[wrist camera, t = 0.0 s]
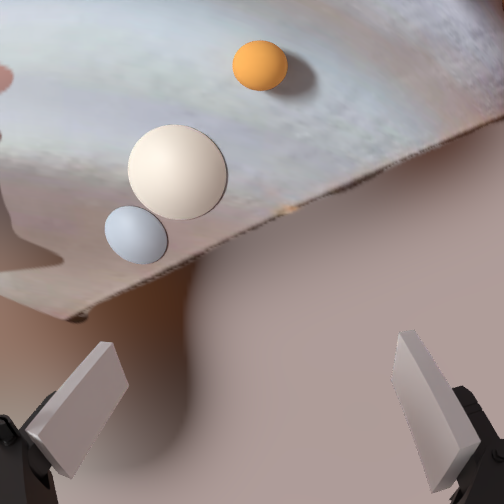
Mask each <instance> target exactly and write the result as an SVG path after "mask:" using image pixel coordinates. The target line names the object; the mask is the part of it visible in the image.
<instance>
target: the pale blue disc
mask: <svg viewBox="0 0 504 504" xmlns="http://www.w3.org/2000/svg"><path fill="white" fill-rule="evenodd" d="M105 234H106V238H107V241H108V243H109V244H110V246H111V247H112V249H113V250H114V251H115V252H116V253H117V254H118V255H119V256H121V257H122V258H124V259H125V260H127V261H130V262H133V263H137V264H149V263H153V262H155V261H157V260H158V259H159V258H161V256H162V255H163V254H164V252H165V250H166V246H167V236H166V232H165V230H164V228H163V226H162V224H161V223H160V221H159V220H158V219H157V218H156V217H155V216H154V215H153V214H151V213H150V212H148V211H146V210H144V209H142V208H139V207H135V206H123V207H120V208H117V209H116V210H114V211H113V212H112V213H111V214H110V215H109V216H108V218H107V220H106V224H105Z"/></svg>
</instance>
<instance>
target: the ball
mask: <svg viewBox="0 0 504 504" xmlns="http://www.w3.org/2000/svg"><path fill="white" fill-rule="evenodd" d="M287 69H288V63H287V59H286V56H285V54H284V53H283V51H282V50H281V49H280V48H279V47H278V46H276V45H275V44H273V43H271V42H267V41H252V42H249V43H247V44H245V45H243V46H242V47H241V48H240V49H239V50H238V51H237V52H236V54H235V56H234V59H233V72H234V75H235V77H236V78H237V80H238V81H239V82H240V83H241V84H242V85H243V86H245V87H247V88H249V89H252V90H257V91H264V90H269V89H272V88H274V87H276V86H277V85H278V84H280V83H281V82H282V80H283V79H284V77H285V76H286V73H287Z"/></svg>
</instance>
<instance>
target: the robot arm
mask: <svg viewBox="0 0 504 504" xmlns="http://www.w3.org/2000/svg"><path fill="white" fill-rule="evenodd" d="M391 382H392V384H393V387H394V389H395V392H396V394H397V397H398V399H399V401H400V404H401V407H402V410H403V412H404V415H405V417H406V420H407V423H408V425H409V428H410V431H411V434H412V436H413V439H414V442H415V445H416V448H417V451H418V454H419V456H420V459H421V462H422V465H423V468H424V471H425V474H426V478H427V481H428V484H429V487H430V490H431V493H435V492H438V491H441V490H444V489H447V488H450V487H451V486H452V485H453V483H454V482H455V481H456V479H457V481H458V484H459V488H458V489H457V490H456V492H455V493H454V494H453V495H452V497H451V498H450V500H452V501H451V503H450V504H504V439H500V438H499V437H498V435H497V433H496V432H495V430H494V428H493V426H492V425H491V423H490V421H489V420H488V418H487V417H486V415H485V413H484V411H482V408H481V406H480V405H479V404H478V403H477V400H476V398H475V397H474V395H473V394H472V392H470V391H469V390H468V389H466V388H465V387H463V386H459V387H455V388H451V387H450V385H449V383H448V382H447V381H446V379H445V377H444V375H443V373H442V372H441V370H440V369H439V367H438V365H437V364H436V362H435V361H434V359H433V357H432V356H431V354H430V353H429V351H428V350H427V348H426V347H425V345H424V344H423V342H422V341H421V339H420V337H419V336H418V334H417V333H416V331H415V330H410V331H404V332H399V334H398V341H397V348H396V354H395V360H394V367H393V372H392V377H391ZM128 387H129V384H128V382H127V379H126V377H125V375H124V372H123V369H122V367H121V364H120V361H119V359H118V356H117V353H116V350H115V348H114V345H113V343H111V342H100V343H99V344H98V345H97V346H96V347H95V348H94V349H93V351H92V352H91V353H90V354H89V355H88V356H87V357H86V358H85V360H84V361H83V362H82V363H81V364H80V365H79V366H78V367H77V369H76V370H75V371H74V372H73V373H72V374H71V375H70V377H69V378H68V379H67V380H66V381H65V383H63V385H62V386H61V387H60V388H59V390H58V391H54V392H53V393H52V394H50V395H49V396H47V397H46V398H45V399H44V401H43V402H42V403H41V405H39V406H38V408H37V409H36V411H34V412H33V414H32V415H31V416H30V417H29V418H28V420H27V421H26V422H25V423H24V424H23V426H22V427H21V428H20V429H19V430H18V429H17V428H16V426H15V425H14V423H13V422H12V420H11V419H10V418H9V416H7V415H0V504H58V500H57V495H56V491H55V486H54V481H53V476H52V474H51V471H50V470H49V469H50V467H51V466H53V467H54V469H55V470H56V471H57V472H58V473H59V474H61V475H63V476H65V477H68V478H70V479H72V478H73V477H74V475H75V473H76V472H77V470H78V468H79V467H80V465H81V463H82V462H83V460H84V458H85V456H86V455H87V453H88V451H89V450H90V448H91V446H92V445H93V443H94V441H95V440H96V438H97V437H98V435H99V433H100V432H101V430H102V428H103V427H104V425H105V423H106V422H107V420H108V419H109V417H110V415H111V414H112V412H113V411H114V409H115V407H116V406H117V404H118V403H119V401H120V399H121V398H122V396H123V395H124V393H125V391H126V390H127V388H128Z"/></svg>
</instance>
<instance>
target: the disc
mask: <svg viewBox="0 0 504 504" xmlns="http://www.w3.org/2000/svg"><path fill="white" fill-rule="evenodd" d="M128 176H129V181H130V184H131V187H132V189H133V191H134V193H135V195H136V196H137V198H138V199H139V200H140V201H141V203H142V204H144V205H145V206H146V207H147V208H148V209H149V210H151V211H152V212H154V213H156V214H158V215H160V216H162V217H166V218H169V219H175V220H187V219H192V218H196V217H199V216H201V215H203V214H205V213H207V212H208V211H209V210H211V209H212V208H213V207H214V206H215V205H216V204H217V202H218V201H219V200H220V198H221V196H222V194H223V191H224V188H225V184H226V167H225V162H224V159H223V157H222V155H221V153H220V151H219V149H218V148H217V146H216V145H215V144H214V143H213V142H212V141H211V140H210V139H209V138H208V137H207V136H206V135H204V134H203V133H201V132H200V131H198V130H196V129H193V128H191V127H187V126H183V125H165V126H161V127H158V128H155V129H153V130H151V131H149V132H148V133H146V134H145V135H144V136H143V137H141V138H140V139H139V141H138V142H137V143H136V145H135V146H134V148H133V150H132V152H131V154H130V157H129V162H128Z"/></svg>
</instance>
